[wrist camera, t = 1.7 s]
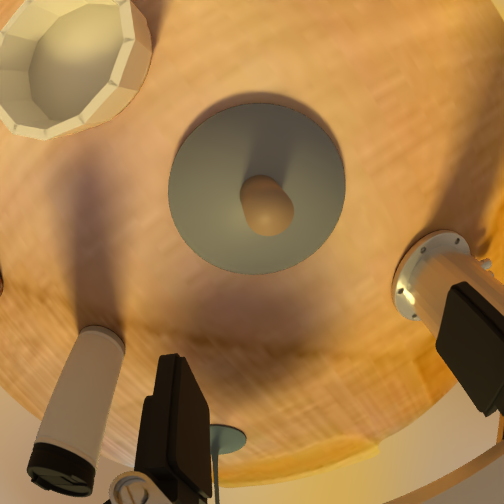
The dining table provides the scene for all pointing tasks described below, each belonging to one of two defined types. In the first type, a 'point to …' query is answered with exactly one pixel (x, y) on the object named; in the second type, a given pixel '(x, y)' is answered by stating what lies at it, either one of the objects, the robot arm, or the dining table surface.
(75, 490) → the travel mug
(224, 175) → the lid
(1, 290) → the sauce bottle
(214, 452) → the cocktail glass
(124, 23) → the bowl
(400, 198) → the dining table surface
